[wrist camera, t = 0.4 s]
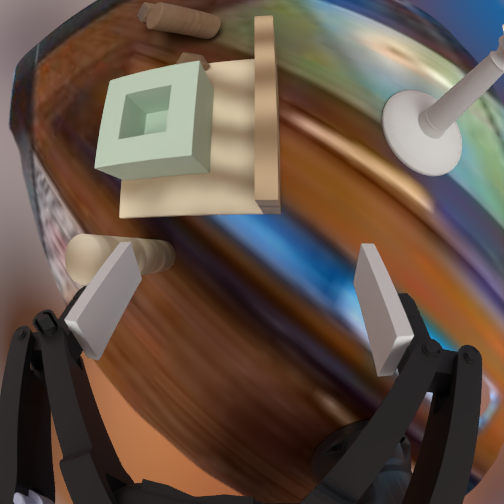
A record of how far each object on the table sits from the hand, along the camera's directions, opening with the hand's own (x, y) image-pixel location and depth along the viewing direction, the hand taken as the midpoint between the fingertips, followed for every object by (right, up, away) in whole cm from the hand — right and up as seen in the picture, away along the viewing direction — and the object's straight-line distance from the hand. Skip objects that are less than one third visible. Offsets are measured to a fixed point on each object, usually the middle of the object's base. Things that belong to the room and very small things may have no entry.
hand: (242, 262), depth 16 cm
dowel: (-11, 0, +20) cm, 23 cm away
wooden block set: (-9, +35, +19) cm, 41 cm away
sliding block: (-10, +16, +19) cm, 27 cm away
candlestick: (+24, +17, +16) cm, 33 cm away
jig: (-6, +16, +19) cm, 26 cm away
